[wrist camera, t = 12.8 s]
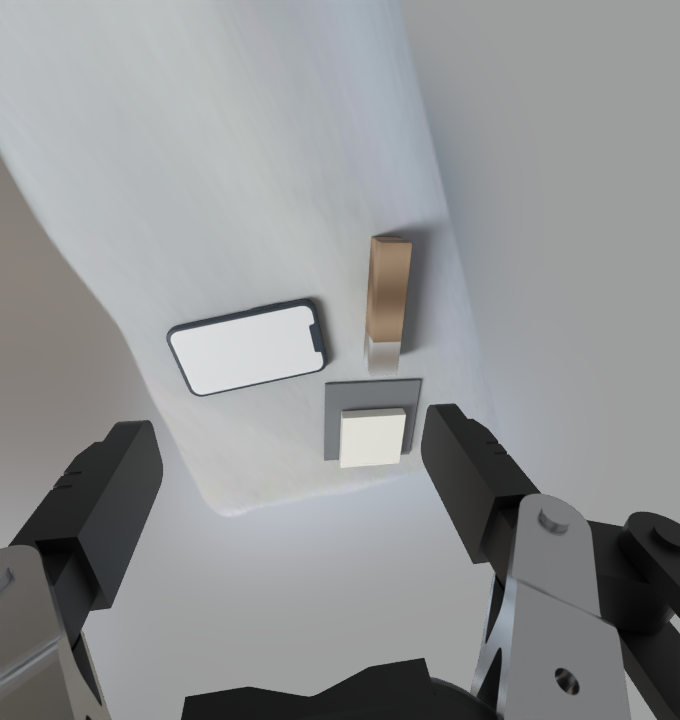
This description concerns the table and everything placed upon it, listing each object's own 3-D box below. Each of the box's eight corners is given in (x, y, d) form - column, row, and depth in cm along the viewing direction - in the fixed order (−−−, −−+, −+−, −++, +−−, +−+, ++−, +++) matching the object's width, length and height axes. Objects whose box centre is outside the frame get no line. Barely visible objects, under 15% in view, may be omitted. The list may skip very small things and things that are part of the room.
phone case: (196, 393, 41) (328, 364, 42) (192, 400, 40) (329, 371, 40) (166, 324, 37) (312, 294, 38) (160, 330, 36) (313, 298, 36)
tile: (343, 418, 43) (340, 467, 46) (405, 414, 44) (399, 463, 47) (340, 410, 44) (339, 458, 48) (401, 407, 45) (395, 454, 49)
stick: (371, 236, 35) (380, 242, 32) (399, 237, 36) (412, 243, 32) (363, 359, 42) (370, 376, 38) (387, 358, 42) (397, 374, 39)
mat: (325, 383, 42) (325, 384, 42) (419, 378, 44) (420, 380, 44) (324, 458, 48) (324, 460, 48) (408, 452, 50) (409, 454, 49)
